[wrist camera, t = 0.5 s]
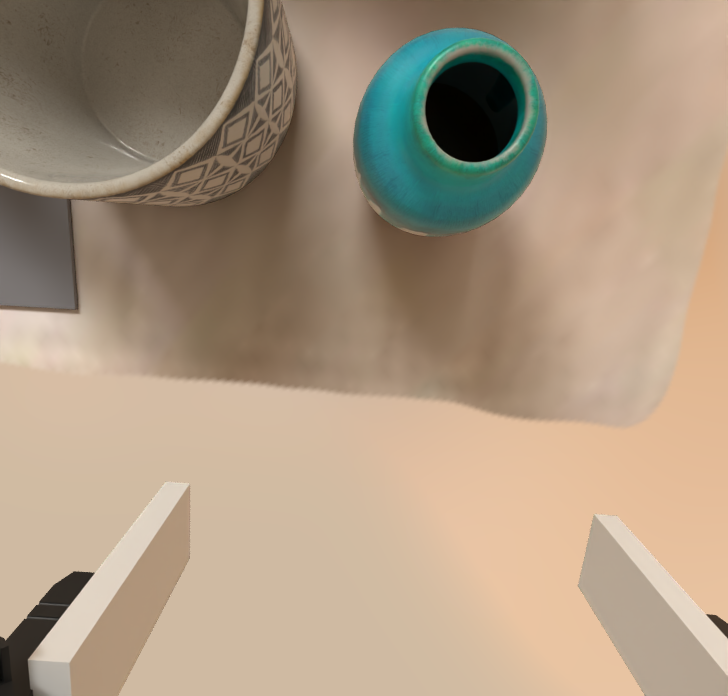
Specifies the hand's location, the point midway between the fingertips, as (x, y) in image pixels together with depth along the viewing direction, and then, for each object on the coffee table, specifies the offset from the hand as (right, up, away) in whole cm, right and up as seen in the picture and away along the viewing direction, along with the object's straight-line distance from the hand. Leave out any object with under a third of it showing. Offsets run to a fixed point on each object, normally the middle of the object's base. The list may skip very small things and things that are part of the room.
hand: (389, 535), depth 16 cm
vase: (+4, +21, +23) cm, 31 cm away
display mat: (-30, +15, +24) cm, 41 cm away
